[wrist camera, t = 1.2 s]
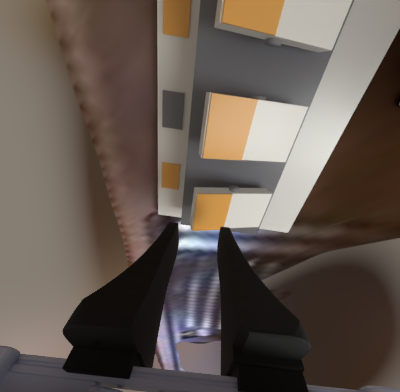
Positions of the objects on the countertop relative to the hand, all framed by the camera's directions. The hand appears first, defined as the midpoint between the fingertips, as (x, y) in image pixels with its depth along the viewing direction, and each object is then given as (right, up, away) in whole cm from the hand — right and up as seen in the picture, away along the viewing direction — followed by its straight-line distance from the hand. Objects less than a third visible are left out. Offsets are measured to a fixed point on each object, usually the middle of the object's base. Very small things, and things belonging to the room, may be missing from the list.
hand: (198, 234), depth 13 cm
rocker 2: (+4, +8, 0) cm, 9 cm away
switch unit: (+5, +11, +5) cm, 13 cm away
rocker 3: (+3, +2, +4) cm, 5 cm away
